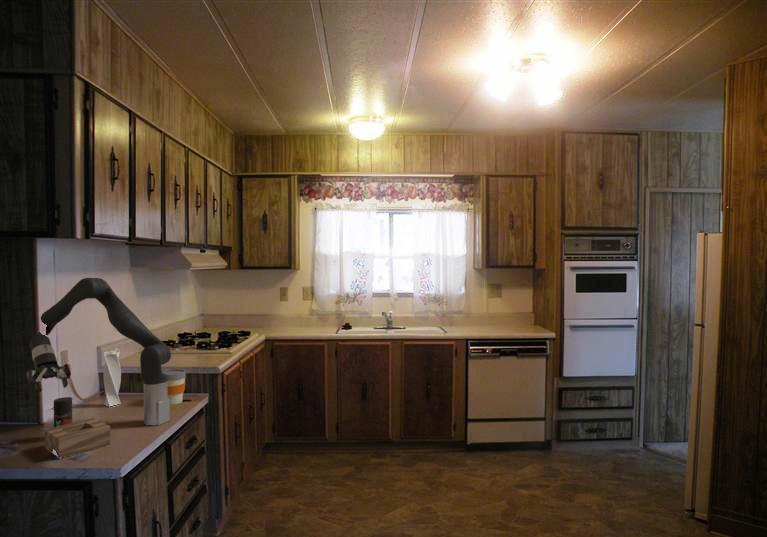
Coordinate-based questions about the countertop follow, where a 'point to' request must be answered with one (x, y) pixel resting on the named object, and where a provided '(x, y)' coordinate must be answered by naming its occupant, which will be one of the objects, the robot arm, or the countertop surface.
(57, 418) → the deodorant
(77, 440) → the socket block
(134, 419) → the countertop surface
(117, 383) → the skyscraper
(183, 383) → the reusable coffee cup
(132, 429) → the countertop surface
